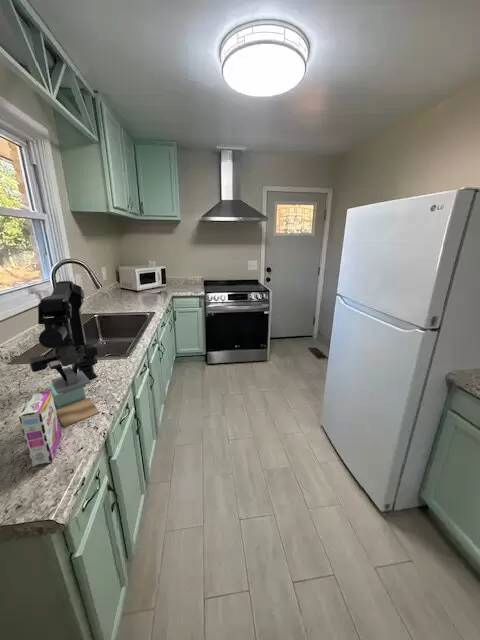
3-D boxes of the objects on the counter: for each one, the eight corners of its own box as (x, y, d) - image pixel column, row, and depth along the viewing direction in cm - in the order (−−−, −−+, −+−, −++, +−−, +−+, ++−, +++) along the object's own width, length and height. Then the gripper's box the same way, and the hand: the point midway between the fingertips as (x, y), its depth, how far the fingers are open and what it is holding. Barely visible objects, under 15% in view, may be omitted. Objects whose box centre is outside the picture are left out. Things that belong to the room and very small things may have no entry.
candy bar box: (53, 462, 74) (40, 412, 69) (32, 467, 72) (16, 416, 67) (63, 435, 84) (52, 389, 79) (44, 439, 82) (31, 393, 77)
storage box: (52, 397, 103) (49, 384, 102) (78, 388, 109) (75, 376, 108) (58, 408, 97) (54, 395, 95) (85, 398, 103) (83, 385, 101)
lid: (52, 384, 92) (48, 370, 90) (82, 375, 98) (79, 361, 97) (59, 397, 85) (55, 382, 83) (91, 386, 91) (88, 371, 89)
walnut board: (55, 411, 95) (55, 410, 95) (89, 398, 103) (89, 397, 102) (63, 427, 87) (63, 426, 87) (99, 412, 94) (99, 411, 94)
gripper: (29, 352, 74) (41, 400, 79) (100, 335, 87) (107, 378, 92) (23, 341, 82) (35, 386, 87) (89, 327, 94) (96, 367, 99)
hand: (70, 379), depth 91 cm, fingers closed on lid, 2 cm apart
